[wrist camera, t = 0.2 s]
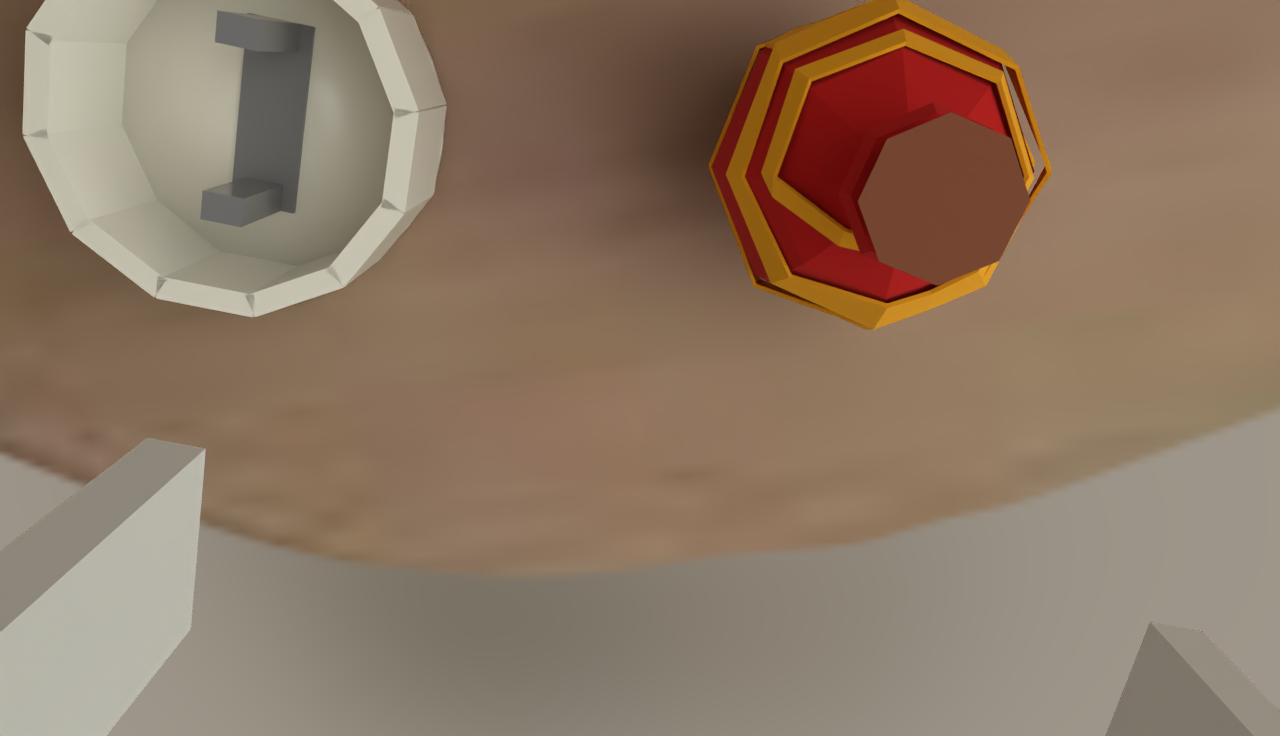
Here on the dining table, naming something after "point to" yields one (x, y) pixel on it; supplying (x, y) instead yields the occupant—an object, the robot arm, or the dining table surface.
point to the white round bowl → (234, 139)
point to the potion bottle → (876, 163)
